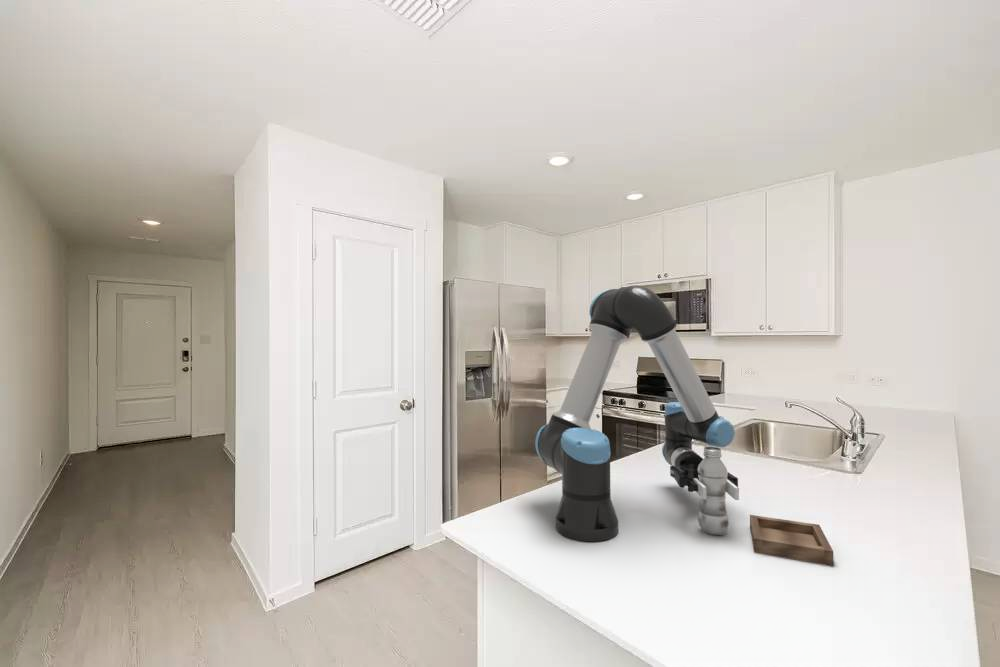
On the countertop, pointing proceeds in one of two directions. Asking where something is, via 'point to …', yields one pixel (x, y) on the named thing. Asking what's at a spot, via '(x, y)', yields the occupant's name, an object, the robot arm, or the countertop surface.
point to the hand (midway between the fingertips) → (720, 493)
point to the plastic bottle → (713, 493)
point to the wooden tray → (790, 540)
